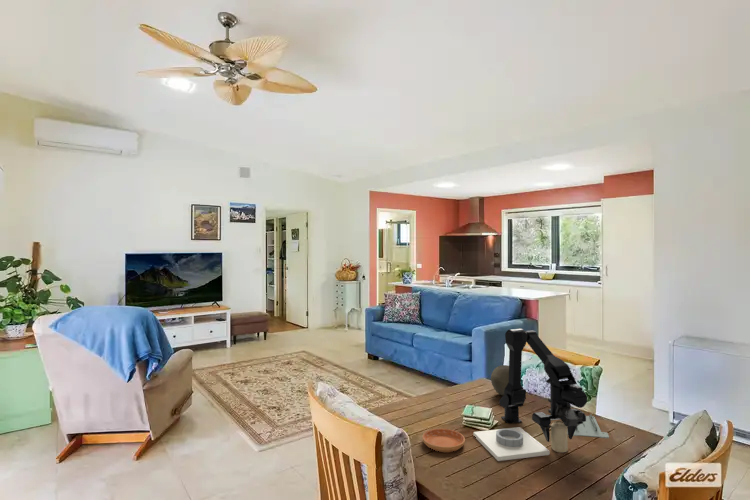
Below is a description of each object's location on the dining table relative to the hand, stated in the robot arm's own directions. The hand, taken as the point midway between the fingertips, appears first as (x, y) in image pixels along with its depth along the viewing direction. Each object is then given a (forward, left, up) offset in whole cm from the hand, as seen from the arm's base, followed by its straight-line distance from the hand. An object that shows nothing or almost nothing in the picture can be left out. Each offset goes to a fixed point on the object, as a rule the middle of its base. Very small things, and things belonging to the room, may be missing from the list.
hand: (559, 440), depth 154 cm
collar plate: (-7, -16, -3) cm, 18 cm away
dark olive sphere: (-54, +8, -4) cm, 55 cm away
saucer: (-13, -40, -4) cm, 42 cm away
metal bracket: (-12, +20, -4) cm, 23 cm away
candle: (0, 0, -4) cm, 4 cm away
